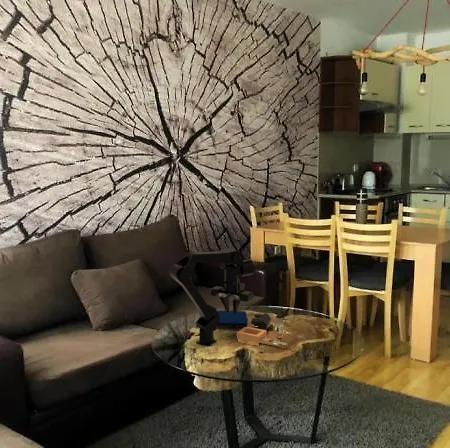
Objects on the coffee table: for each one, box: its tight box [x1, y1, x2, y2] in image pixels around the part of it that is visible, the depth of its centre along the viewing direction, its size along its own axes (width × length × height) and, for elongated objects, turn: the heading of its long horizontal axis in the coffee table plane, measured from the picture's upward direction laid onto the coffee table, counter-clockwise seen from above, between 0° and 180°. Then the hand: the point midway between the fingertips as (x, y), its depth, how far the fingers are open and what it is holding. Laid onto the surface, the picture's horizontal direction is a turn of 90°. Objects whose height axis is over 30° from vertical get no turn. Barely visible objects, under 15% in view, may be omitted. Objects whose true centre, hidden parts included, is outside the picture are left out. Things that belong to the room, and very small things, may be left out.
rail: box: [236, 331, 288, 349], centre depth 236 cm, size 18×23×2 cm
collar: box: [236, 326, 268, 342], centre depth 238 cm, size 8×10×4 cm
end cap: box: [250, 312, 272, 331], centre depth 250 cm, size 10×7×7 cm
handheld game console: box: [217, 310, 249, 327], centre depth 257 cm, size 16×13×9 cm
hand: (231, 312), depth 242 cm, fingers open, 3 cm apart
